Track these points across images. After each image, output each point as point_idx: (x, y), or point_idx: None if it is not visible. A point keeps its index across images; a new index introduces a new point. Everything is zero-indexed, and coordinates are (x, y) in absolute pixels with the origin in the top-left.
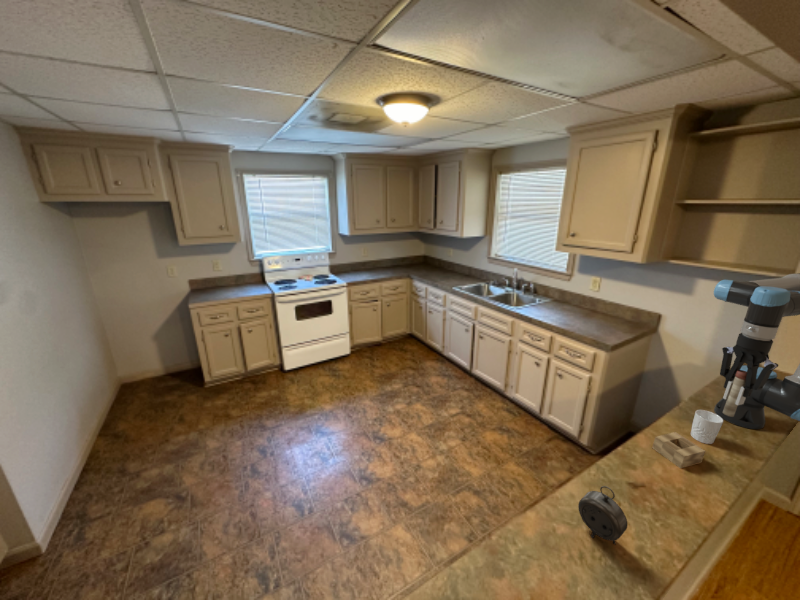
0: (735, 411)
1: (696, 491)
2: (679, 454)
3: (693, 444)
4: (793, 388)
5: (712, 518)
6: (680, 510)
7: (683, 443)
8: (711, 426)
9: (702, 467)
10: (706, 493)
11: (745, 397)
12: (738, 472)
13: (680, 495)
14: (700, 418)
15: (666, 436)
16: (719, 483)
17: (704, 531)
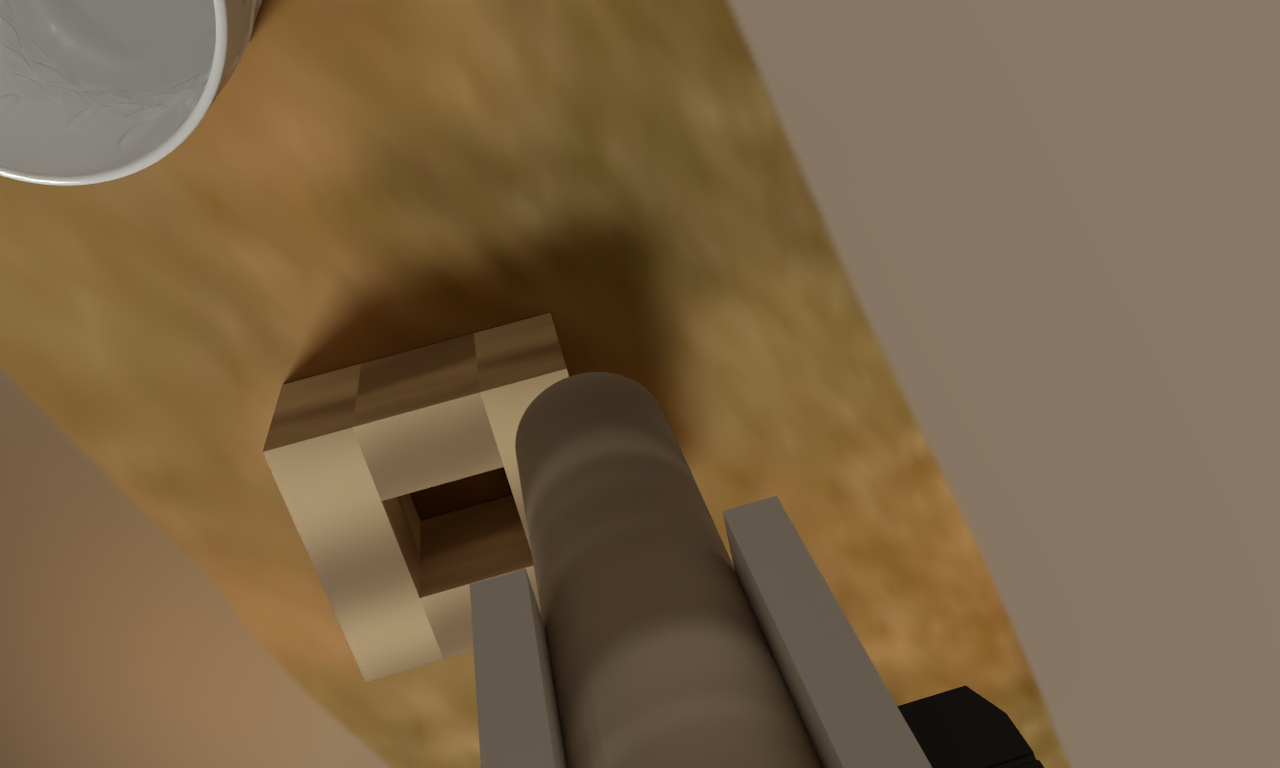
0: (683, 456)
1: None
2: None
3: (473, 415)
4: None
5: (992, 612)
6: None
7: (439, 475)
8: (226, 76)
9: (608, 349)
10: (839, 516)
11: (847, 629)
12: (683, 66)
13: None
14: (104, 177)
15: (355, 587)
16: (775, 354)
17: (1039, 701)
